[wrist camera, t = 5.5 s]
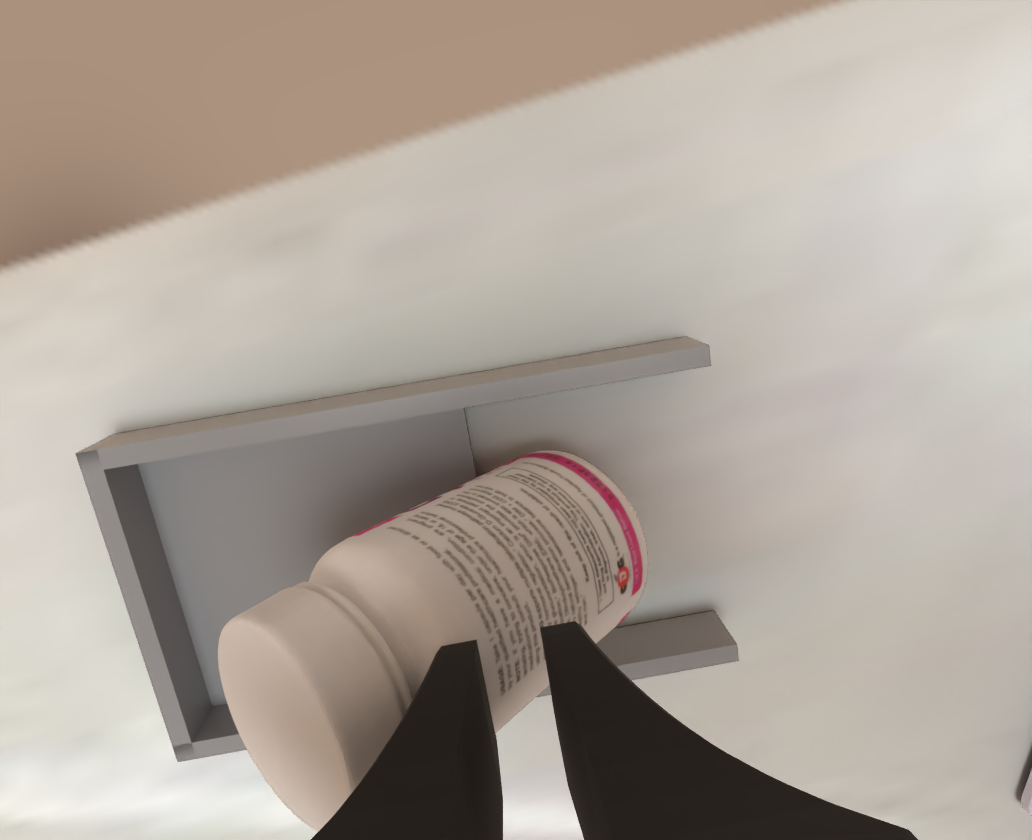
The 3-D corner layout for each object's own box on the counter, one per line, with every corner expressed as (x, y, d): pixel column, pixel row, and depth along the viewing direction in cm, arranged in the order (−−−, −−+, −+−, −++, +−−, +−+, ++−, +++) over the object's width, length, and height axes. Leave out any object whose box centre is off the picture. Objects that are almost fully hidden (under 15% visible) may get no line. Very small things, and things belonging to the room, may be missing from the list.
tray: (686, 336, 18) (709, 345, 16) (715, 625, 20) (738, 660, 18) (114, 433, 18) (75, 453, 16) (203, 717, 20) (177, 762, 18)
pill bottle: (517, 413, 18) (198, 542, 12) (678, 504, 15) (382, 726, 9) (488, 557, 20) (207, 728, 14) (625, 656, 18) (357, 916, 11)
